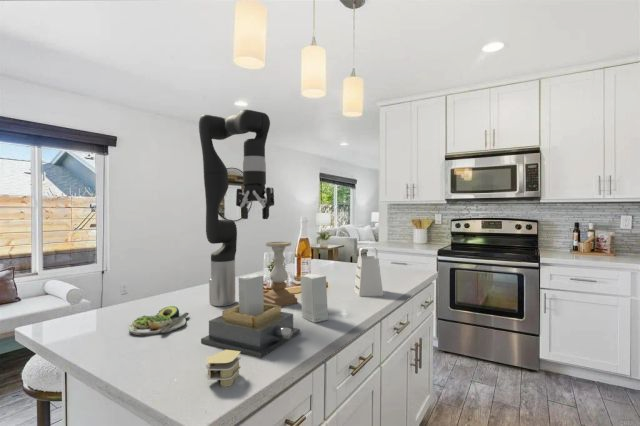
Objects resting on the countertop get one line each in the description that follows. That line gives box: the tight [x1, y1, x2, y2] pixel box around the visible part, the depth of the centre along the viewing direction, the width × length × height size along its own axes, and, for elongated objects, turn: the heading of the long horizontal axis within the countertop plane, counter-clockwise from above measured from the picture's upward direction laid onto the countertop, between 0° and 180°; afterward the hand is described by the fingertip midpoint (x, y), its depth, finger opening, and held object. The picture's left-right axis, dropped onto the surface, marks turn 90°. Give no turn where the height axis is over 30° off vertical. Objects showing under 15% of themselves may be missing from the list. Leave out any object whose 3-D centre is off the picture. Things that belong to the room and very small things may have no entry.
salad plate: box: [128, 305, 190, 337], centre depth 108 cm, size 19×18×5 cm
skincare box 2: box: [299, 273, 329, 324], centre depth 115 cm, size 8×6×15 cm
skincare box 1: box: [238, 273, 264, 316], centre depth 98 cm, size 6×4×12 cm
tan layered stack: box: [205, 349, 242, 387], centre depth 74 cm, size 10×9×6 cm
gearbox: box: [200, 303, 301, 359], centre depth 97 cm, size 24×19×8 cm
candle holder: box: [264, 241, 298, 307], centre depth 135 cm, size 11×11×24 cm
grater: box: [353, 246, 384, 297], centre depth 149 cm, size 10×10×20 cm
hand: (254, 219), depth 113 cm, fingers open, 8 cm apart
